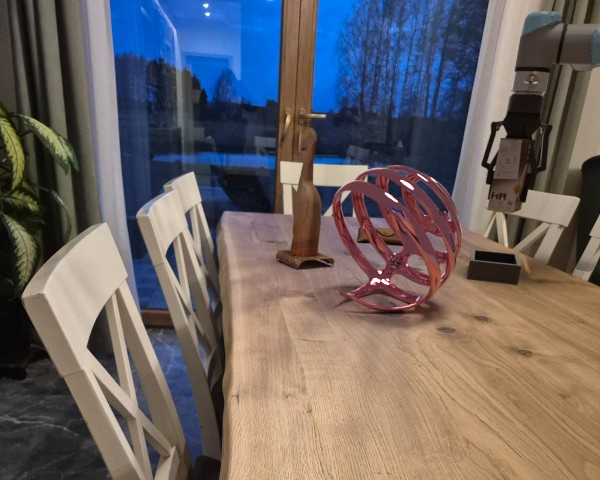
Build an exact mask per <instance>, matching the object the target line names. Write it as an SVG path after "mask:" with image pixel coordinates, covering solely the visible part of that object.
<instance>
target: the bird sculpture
mask: <svg viewBox="0 0 600 480" xmlns="http://www.w3.org/2000/svg"><path fill="white" fill-rule="evenodd" d="M317 144H318V136H317V132H316V130H315V129H314V128H313V127H310V128H309V129H308V131H307V134H306V136H305V137H304V138H303V140H302V141H301V146H300V151H303V152H304V151H306V153H305V156H304V157H303V162H302V165H301V170H300V175H299V179H298V183H297V189H296V193H295V194H296V195H295V200H294V210H293V211H294V212H293V221H292V222H293V223H292V240H291V244H290V249H283V250H282V249H281V250H278V251H277V253H276V254H275V259H276V260H278V261H280V262H282V263H284V264H287V265H289V266H291V267H293V268H294V269H296V270H298V269H299V267H300V266H301V265H302V264H303V263H304V262H305V261H315V260H319V261H321V262H324V263H326V264H329V265H331V266H333V267H335V259H334V258H332V257H330V256H327V255H326V254H323V253H321V252H319V246H320V244H319V243H320V236H321V234H320V233H321V224H322V211H323V210H322V209H323V208H322V207H323V204H322V199H321V195H320V193H319V191H318V188H317V187H316V185H315V184H314V163H315V156H316V155H315V154H316V151H317V150H316V147H317Z"/></svg>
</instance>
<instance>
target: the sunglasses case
mask: <svg viewBox="0 0 600 480" xmlns="http://www.w3.org/2000/svg"><path fill="white" fill-rule="evenodd" d="M374 228H375V229H376V231H377V232H378V234H379V235H380V237H381V238H382V240H383V241H384V242H385V243H386V245H391V246H403V243H402V242H401V241H400V239H399V238H398V237H397V236H396V235H395V233H394V232H393V231H392V229H391V228H390V227H379V226H378V227H377V226H374ZM356 241H357V242H359V243H360V242H361V243H362V242H363V243H370V242H369V240H368V239H367V237H366V236H365V234H364V232H363V230H362V229H361V227H358V231H357V237H356Z"/></svg>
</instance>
